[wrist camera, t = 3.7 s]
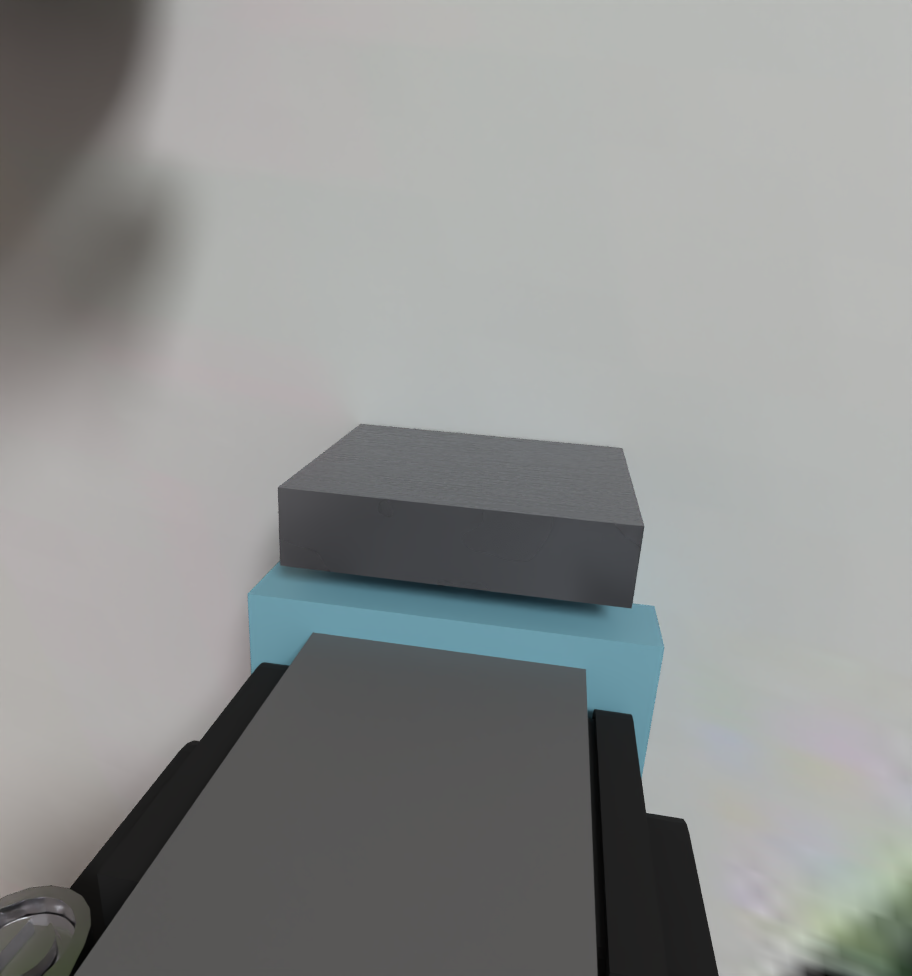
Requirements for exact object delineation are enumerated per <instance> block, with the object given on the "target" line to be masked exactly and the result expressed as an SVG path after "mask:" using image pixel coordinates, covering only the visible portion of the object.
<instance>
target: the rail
mask: <svg viewBox="0 0 912 976" xmlns="http://www.w3.org/2000/svg"><path fill="white" fill-rule="evenodd" d="M278 505H279V539H280V566H287V567H295V568H304V569H312V570H320V571H328V572H336V573H345V574H353V575H361V576H369V577H377V578H385V579H394V580H402V581H410V582H418V583H426V584H435V585H443V586H451V587H459V588H467V589H475V590H484V591H492V592H500V593H508V594H516V595H525V596H533V597H541V598H549V599H557V600H565V601H574V602H582V603H590V604H598V605H606V606H615V607H623V608H631V609H632V603H633V596H634V590H635V583H636V577H637V570H638V564H639V557H640V551H641V544H642V538H643V531H644V524H643V520H642V517H641V513H640V510H639V506H638V502H637V499H636V495H635V492H634V488H633V484H632V481H631V477H630V474H629V470H628V467H627V463H626V459H625V456H624V452H623V449H622V448H614V447H603V446H592V445H581V444H571V443H560V442H549V441H538V440H527V439H516V438H506V437H495V436H484V435H473V434H462V433H451V432H441V431H430V430H419V429H408V428H397V427H386V426H376V425H365V424H360V425H359V426H357V427H356V428H355V429H353V430H352V431H351V432H349V433H348V434H347V435H346V436H344V437H343V438H342V439H340V440H339V441H338V442H336V443H335V444H334V445H333V446H331V447H330V448H329V449H327V450H326V451H325V452H323V453H322V454H321V455H320V456H318V457H317V458H316V459H314V460H313V461H312V462H310V463H309V464H308V465H306V466H305V467H304V468H303V469H301V470H300V471H299V472H297V473H296V474H295V475H293V476H292V477H291V478H290V479H288V480H287V481H286V482H284V483H283V484H282V485H280V486H279V487H278Z"/></svg>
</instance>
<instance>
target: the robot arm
mask: <svg viewBox="0 0 912 976" xmlns="http://www.w3.org/2000/svg"><path fill="white" fill-rule="evenodd" d="M288 667H289V665H281V664H274V663H267V662H263V663H261V664H260V665H259V666H258V667H257V668H256V669H255V671H254V672H253V673H252V674H251V676H250V677H249V678H248V680H247V681H246V682H245V684H244V685H243V686H242V687H241V689H240V690H239V691H238V693H237V694H236V695H235V696H234V698H233V699H232V700H231V702H230V703H229V704H228V705H227V707H226V708H225V709H224V711H223V712H222V713H221V715H220V716H219V717H218V718H217V720H216V721H215V722H214V724H213V725H212V726H211V727H210V729H209V730H208V731H207V733H206V734H205V735H204V737H203V738H202V739H201V740H200V741H192V742H189V743H187V744H186V745H185V746H184V747H183V748H182V749H181V750H180V751H179V752H178V754H177V755H176V756H175V757H174V759H173V760H172V761H171V762H170V764H169V765H168V766H167V767H166V769H165V770H164V771H163V772H162V774H161V775H160V776H159V777H158V779H157V780H156V781H155V782H154V784H153V785H152V786H151V787H150V789H149V790H148V791H147V792H146V794H145V795H144V796H143V797H142V799H141V800H140V801H139V802H138V804H137V805H136V806H135V807H134V809H133V810H132V811H131V812H130V814H129V815H128V816H127V817H126V819H125V820H124V821H123V822H122V824H121V825H120V826H119V827H118V829H117V830H116V831H115V832H114V834H113V835H112V836H111V837H110V839H109V840H108V841H107V842H106V844H105V845H104V846H103V847H102V849H101V850H100V851H99V852H98V854H97V855H96V856H95V857H94V859H93V860H92V861H91V862H90V864H89V865H88V866H87V867H86V869H85V870H84V871H83V872H82V874H81V875H80V876H79V877H78V879H77V880H76V881H75V882H74V884H73V885H72V886H71V887H70V889H69V888H64V887H58V886H52V885H50V886H41V887H33V888H28V889H25V890H22V891H19V892H16V893H13V894H10V895H7V896H5V897H3V898H1V899H0V976H74V975H75V973H76V972H77V970H78V969H79V967H80V966H81V965H82V963H83V962H84V960H85V959H86V957H87V956H88V955H89V953H90V952H91V950H92V949H93V947H94V946H95V945H96V943H97V942H98V940H99V939H100V937H101V936H102V934H103V933H104V932H105V930H106V929H107V927H108V926H109V924H110V923H111V922H112V920H113V919H114V917H115V916H116V914H117V913H118V911H119V910H120V909H121V907H122V906H123V904H124V903H125V901H126V900H127V899H128V897H129V896H130V894H131V893H132V891H133V890H134V889H135V887H136V886H137V884H138V883H139V881H140V880H141V878H142V877H143V876H144V874H145V873H146V871H147V870H148V868H149V867H150V866H151V864H152V863H153V861H154V860H155V858H156V857H157V856H158V854H159V853H160V851H161V850H162V848H163V847H164V845H165V844H166V843H167V841H168V840H169V838H170V837H171V835H172V834H173V833H174V831H175V830H176V828H177V827H178V825H179V824H180V822H181V821H182V820H183V818H184V817H185V815H186V814H187V812H188V811H189V810H190V808H191V807H192V805H193V804H194V802H195V801H196V800H197V798H198V797H199V795H200V794H201V792H202V791H203V789H204V788H205V787H206V785H207V784H208V782H209V781H210V779H211V778H212V777H213V775H214V774H215V772H216V771H217V769H218V768H219V766H220V765H221V764H222V762H223V761H224V759H225V758H226V756H227V755H228V754H229V752H230V751H231V749H232V748H233V746H234V745H235V744H236V742H237V741H238V739H239V738H240V736H241V735H242V733H243V732H244V731H245V729H246V728H247V726H248V725H249V723H250V722H251V721H252V719H253V718H254V716H255V715H256V713H257V712H258V711H259V709H260V708H261V706H262V705H263V703H264V702H265V700H266V699H267V698H268V696H269V695H270V693H271V692H272V690H273V689H274V688H275V686H276V685H277V683H278V682H279V680H280V679H281V677H282V676H283V675H284V673H285V672H286V670H287V669H288ZM588 738H589V764H590V790H591V817H592V843H593V869H594V896H595V922H596V948H597V975H598V976H719V975H718V970H717V966H716V961H715V956H714V951H713V946H712V941H711V937H710V932H709V927H708V922H707V917H706V912H705V908H704V903H703V898H702V893H701V888H700V883H699V879H698V874H697V869H696V864H695V859H694V854H693V850H692V845H691V840H690V835H689V831H688V828H687V824H686V822H685V821H684V819H680V818H674V817H668V816H662V815H655V814H649V813H646V809H645V802H644V795H643V787H642V780H641V773H640V765H639V758H638V751H637V743H636V736H635V729H634V721H633V716H632V715H631V714H626V713H619V712H612V711H605V710H598V709H594V711H593V715H592V719H590V718H588Z"/></svg>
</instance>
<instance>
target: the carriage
mask: <svg viewBox="0 0 912 976" xmlns="http://www.w3.org/2000/svg"><path fill="white" fill-rule="evenodd" d="M248 612H249V633H250V654H251V674H252V673H253V672H254V671H255V669H256V668H257V667H258V666H259V665H260V664H261V663H263V662H267V663H274V664H281V665H289V667H288V669H287V670H286V672H285V673H284V675H283V676H282V677H281V679H280V680H279V682H278V683H277V685H276V686H275V688H274V689H273V690H272V692H271V693H270V695H269V696H268V698H267V699H266V700H265V702H264V703H263V705H262V706H261V708H260V709H259V711H258V712H257V713H256V715H255V716H254V718H253V719H252V721H251V722H250V723H249V725H248V726H247V728H246V729H245V731H244V732H243V733H242V735H241V736H240V738H239V739H238V741H237V742H236V744H235V745H234V746H233V748H232V749H231V751H230V752H229V754H228V755H227V756H226V758H225V759H224V761H223V762H222V764H221V765H220V766H219V768H218V769H217V771H216V772H215V774H214V775H213V777H212V778H211V779H210V781H209V782H208V784H207V785H206V787H205V788H204V789H203V791H202V792H201V794H200V795H199V797H198V798H197V800H196V801H195V802H194V804H193V805H192V807H191V808H190V810H189V811H188V812H187V814H186V815H185V817H184V818H183V820H182V821H181V822H180V824H179V825H178V827H177V828H176V830H175V831H174V833H173V834H172V835H171V837H170V838H169V840H168V841H167V843H166V844H165V845H164V847H163V848H162V850H161V851H160V853H159V854H158V856H157V857H156V858H155V860H154V861H153V863H152V864H151V866H150V867H149V868H148V870H147V871H146V873H145V874H144V876H143V877H142V878H141V880H140V881H139V883H138V884H137V886H136V887H135V889H134V890H133V891H132V893H131V894H130V896H129V897H128V899H127V900H126V901H125V903H124V904H123V906H122V907H121V909H120V910H119V911H118V913H117V914H116V916H115V917H114V919H113V920H112V922H111V923H110V924H109V926H108V927H107V929H106V930H105V932H104V933H103V934H102V936H101V937H100V939H99V940H98V942H97V943H96V945H95V946H94V947H93V949H92V950H91V952H90V953H89V955H88V956H87V957H86V959H85V960H84V962H83V963H82V965H81V966H80V967H79V969H78V970H77V972H76V973H75V975H74V976H598V975H597V948H596V922H595V896H594V869H593V843H592V817H591V790H590V764H589V738H588V718H590V719H592V715H593V711H594V709H598V710H605V711H612V712H619V713H626V714H631V715H632V716H633V721H634V729H635V736H636V743H637V751H638V758H639V765H640V773H641V778H642V773H643V767H644V761H645V755H646V750H647V744H648V738H649V732H650V727H651V721H652V715H653V710H654V704H655V698H656V692H657V687H658V681H659V675H660V669H661V664H662V658H663V652H664V644H663V640H662V636H661V632H660V628H659V624H658V620H657V615H656V611H655V607H654V606H649V605H641V604H633V603H632V609H631V608H623V607H615V606H606V605H598V604H590V603H582V602H574V601H565V600H557V599H549V598H541V597H533V596H525V595H516V594H508V593H500V592H492V591H484V590H475V589H467V588H459V587H451V586H443V585H435V584H426V583H418V582H410V581H402V580H394V579H385V578H377V577H369V576H361V575H353V574H345V573H336V572H328V571H320V570H312V569H304V568H295V567H287V566H280V561H279V562H278V563H277V564H276V565H275V566H274V567H273V568H272V569H271V570H270V571H269V572H268V573H267V575H266V576H265V577H264V578H263V579H262V580H261V581H260V582H259V583H258V584H257V585H256V586H255V587H254V588H253V589H252V590H251V591H250V592H249V593H248Z"/></svg>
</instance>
